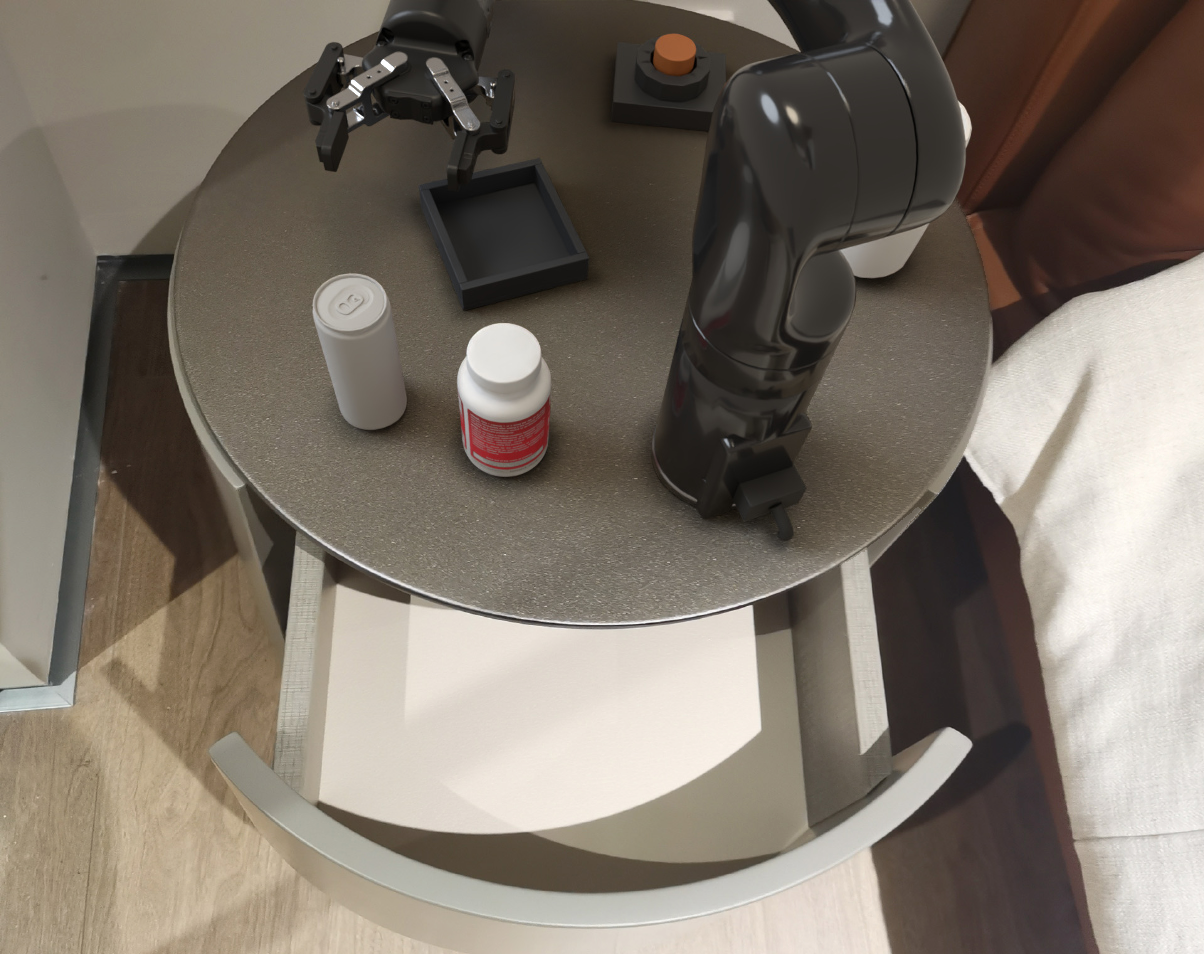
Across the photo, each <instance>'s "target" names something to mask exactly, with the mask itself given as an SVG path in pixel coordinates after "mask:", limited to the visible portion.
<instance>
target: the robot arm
mask: <svg viewBox="0 0 1204 954" xmlns="http://www.w3.org/2000/svg"><path fill="white" fill-rule="evenodd" d="M766 1H767V2H768V4H769V5H770V6H771V7H772V9H773V10H774V11H775V12H776V13H777V15H778V17H780V19H781V20H782V22H783V24H784V25H785V27H786V28H787V30H788V32H789V33H790V35H791V37H792V39H793V40H794V42H795V44H796V46H797V48H798V50H799V52H796V53H790V54H785V55H781V56H776V57H772V58H767V59H763V60H758V61H755V62H751V63H749V64H745V65H744V66H741V67H740V68H739V69H737V70H736V71H735V72H734V73H733V74H732V75H730V77H729V78H728V80H726V84H725V85H724V87H723V89H722V90H721V92H720V94H719V97H718V99H717V102H716V104H715V107H714V110H713V114H712V117H711V121H710V125H709V131H707V136H706V141H705V142H706V143H705V149H704V155H703V156H704V157H703V163H702V171H701V176H700V184H699V191H698V197H697V203H696V208H695V213H694V219H693V226H692V233H691V234H692V235H691V265H692V266H691V267H692V269H691V271H692V272H691V282H690V285H689V289H688V292H687V293H688V294H687V298H686V302H685V306H684V309H683V314H682V318H681V322H680V326H679V330H678V334H677V338H676V342H675V346H674V351H673V355H672V359H671V362H670V363H671V364H670V367H669V372H668V376H667V380H666V384H665V388H664V393H663V396H662V401H661V404H660V409H659V413H658V418H657V422H656V424H655V427H654V429H653V433H652V437H651V443H650V457H651V458H650V459H651V463H652V465H653V468H654V471H655V473H656V475H657V477H658V478H659V480H660V481H661V483H662V484H663V486H665V488H666V489H667V490H668V491H669V492H670V493H672V494H673V495H674V496H675V497H677V498H678V499H679V500H681V501H683V502H684V503H686V504H688V505H691V506H693V507H694V508H695V509H696V511H697V512H698V514H699V516H700V518H701V519H703V520H707V519H710V518H712V517H717V516H719V515H722V514H725V513H727V512H732V511H735V510H737V511H738V513H739V515H740V517H741V519H742V521H743V522H744V523H745V522H748V521H751V520H754V519H756V518H760V517H763V516H766V515H768V514H771V516H772V518H773V520H774V523H775V524H776V526H777V529H778V531H777V533H776V535H777V538H778V539H779V540H780V541H782V542H789V541H791V540H793V538H794V536H795V531H794V527H793V523H792V521H791V519H790V516H789V515H788V513H787V511H786V509H787V508H790V507H793V506H794V505H798V504H799V503H800V501H801V499H802V497H803V496H804V494H805V492H806V490H807V486H806V484H805V482H804V480H803V479H802V477H801V475H800V473H799V471H798V469H797V468H796V466H795V462H796V460H797V458H798V456H799V454H800V452H801V451H802V448H803V446H804V445H805V442H806V440H807V438H808V437H809V434H810V432H811V431H812V428H813V423H812V421H811V420H810V418H809V416H808V414H807V413H806V412H807V410H808V408H809V406H810V404H811V401H812V400H813V397H814V395H815V394H816V392H817V389H818V387H819V385H820V384H821V381H822V379H823V377H824V375H825V373H826V370H827V369H828V367H829V365H830V363H831V362H832V361H831V360H832V359H833V357H834V355H835V353H836V350H837V349H838V346H839V344H840V342H841V340H842V338H843V336H844V334H845V332H846V330H847V327H848V326H849V323H850V321H851V319H852V316H853V314H854V311H855V307H856V303H857V282H856V276H855V275H854V274H853V271H852V269H851V266H850V264H849V263H848V261H847V259H846V258H845V256H844V255H843V253H842V252H841V251H840V250H842V249H846V248H849V247H853V246H857V245H860V244H864V243H868V242H871V241H875V240H879V239H882V238H885V237H888V236H892V235H895V234H899V233H902V232H906V231H909V230H913V229H916V228H919V227H921V226H924V225H926V224H928V223H929V224H930V223H933V222H935V221H936V220H937V219H939V218H940V217H941V216H943V215H944V214H945V213H946V212H947V211H948V210H949V209H950V208H951V206H953V203H954V202H955V200H956V199H957V197H958V194H959V192H960V189H961V187H962V184H963V182H964V181H963V179H964V174H965V169H966V163H967V162H966V160H967V147H966V140H965V131H964V126H963V120H962V115H961V109H960V106H959V103H958V101H959V99H958V97H957V94H956V91H955V88H954V85H953V81H952V78H951V76H950V74H949V72H948V70H947V69H948V68H947V66H946V65H945V63H944V61H943V58H942V56H941V54H940V52H939V50H938V48H937V46H936V44H935V42H934V40H933V38H932V36H931V35H930V33H929V31H928V29H927V28H926V25H925V24H924V22H923V20H922V18H921V17H920V15H919V14H918V13H919V12H918V11H917V10H916V8H915V6H914V4H913V3H912V1H911V0H766ZM495 2H496V0H390V1H389V4H388V5H387V9H386V11H385V14H384V16H383V19H382V22H381V25H380V27H379V31H378V34H377V37H376V41H375V44H374V47H373V48H372V49H371V50H370V51H368V52H367V53H366V54H365V55H364V56H363V57H361V56H357V55H351V54H347V53H344V47H343V45H342V43H340V42H336V41H331V42H328V43H327V44H326V45H325V46H324V49H323V50H322V53H321V55H320V57H319V59H318V61H317V63H316V65H315V67H314V69H313V70H312V73H311V74H310V77H309V78H308V81H307V82H306V85H305V87H304V89H303V91H302V92H303V97H304V103H305V107H306V111H307V114H308V116H307V117H308V120H309V123H310V124H311V125H313V126H317V127H319V130H318V132H317V135H316V137H315V140H314V141H315V147H316V151H317V156H318V161H319V163H322V164H323V168H324V170H325V171H327V172H333V173H337V172H338V169H339V167H340V164H341V161H342V158H343V155H344V153H345V150H346V147H347V145H348V141H349V139H350V136H349V134H350V133H352V132H353V131H355V130H356V129H358V128H360V127H362V126H366V127H372V126H373V125H376V124H378V123H380V122H381V121H383V120H384V119H386V118H388V117H389V119H394V120H400V121H407V120H408V121H409V120H412V121H416V122H417V123H421V124H425V125H432V126H434V123H436V122H439V123H441V125H442V126H443V128H444V129H445V131H446V132H447V134H448V136H449V137H450V138H451V139H452V140H454V141H453V145H452V149H451V151H450V156H449V159H448V162H447V166H446V179H447V182H448V190H451V191H458V192H459V190H460V186H461V184H462V185H467V184H468V183H469V182H470V181H471V179H472V175H473V173H474V172H475V171H474V170H475V167H476V163H477V159H478V156H479V155H480V154H482V152H485V151H491V152H492V153H493V154H495V155H503V154H505V153H507V151H508V149H509V142H510V136H511V135H510V134H511V130H512V129H511V128H512V122H513V116H514V109H515V104H516V103H515V101H516V100H515V99H516V74H515V72H514V71H513V70H511V69H505V68H504V69H501V70H500V71H498V73H497V77H492V76H485V75H484V76H483V75H479V73H478V72H479V69H480V66H481V61H482V57H483V54H484V51H485V47H486V43H487V40H488V39H489V37H490V34H491V31H492V27H493V23H492V21H493V18H494V17H493V16H494V14H495V13H494V12H495V4H496V3H495ZM342 89H343V90H342ZM372 96H373V98H374V99H375V101H376V102H374V103H373V101H372ZM479 96H481V97H483V98H484V99H485V104H486V106H488V108H489V107H490V111H491V113H490V118H489V121H483V122H480V120H479V119H478V117H477V116H476V115H475V113H474V112H473V110H472V109H471V108H470V107H471V106H469V104H472V103H473V102H474V101H475V100H476V99H477V98H478V97H479ZM351 108H352V109H351ZM349 109H351V110H350V111H347V110H349Z"/></svg>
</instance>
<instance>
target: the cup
mask: <svg viewBox="0 0 1204 954" xmlns="http://www.w3.org/2000/svg"><path fill="white" fill-rule="evenodd" d="M958 103H959V106H960V109H961V115H962V120H963V126H964V131H965V140H966V148H967V147H968V145H969V142H970V139H971V134H972V130H973V125H972V122H971V118H970V115H969V113H968V111H967V109H966V107H965V106H964V105H963V104H962V103H961V102H960V101H959V100H958ZM929 225H930V223H928V224H926V225H924V226H921V227H919V228H916V229H913V230H909V231H906V232H902V233H899V234H895V235H892V236H888V237H885V238H882V239H879V240H875V241H871V242H868V243H864V244H860V245H857V246H853V247H849V248H846V249H842V250H840V251H841V252H842V253H843V255H844V256H845V258H846V259H847V261H848V263H849V264H850V266H851V269H852V271H853V274H854V277H857V278H865V279H866V278H867V279H877V278H884V277H887V276H890V275H893V274H896V272H898V271H900V270H901V269H902V268H904V266H905V264H906V263H907V261H908V260H909V258H910V257H911V255H912V254H913V252H914V250H915V249H916V247H917V246H918V244H919V242H920V240H921V239H922V237H923V235H924V233H925V232H926V230H927V228H928V227H929Z"/></svg>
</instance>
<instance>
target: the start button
mask: <svg viewBox="0 0 1204 954" xmlns="http://www.w3.org/2000/svg"><path fill="white" fill-rule="evenodd" d="M663 35H664V36H663ZM663 35H661V36H662V37H660V38H659V39H658V40H657V41H656V44H655V51H654V57H653V64H654V67H655V68H656V70H658V71H660V72H662V73H664V74H666V75H671V76H683V75H686V74H689V73H690V72H691V71H692V69H693V65H694V60H695V55H696V46H695V44H694V42H695V41H693V40H692V39H691V38H689V37H687V36H686V35H683V34H679V33H667V34H663Z"/></svg>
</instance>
